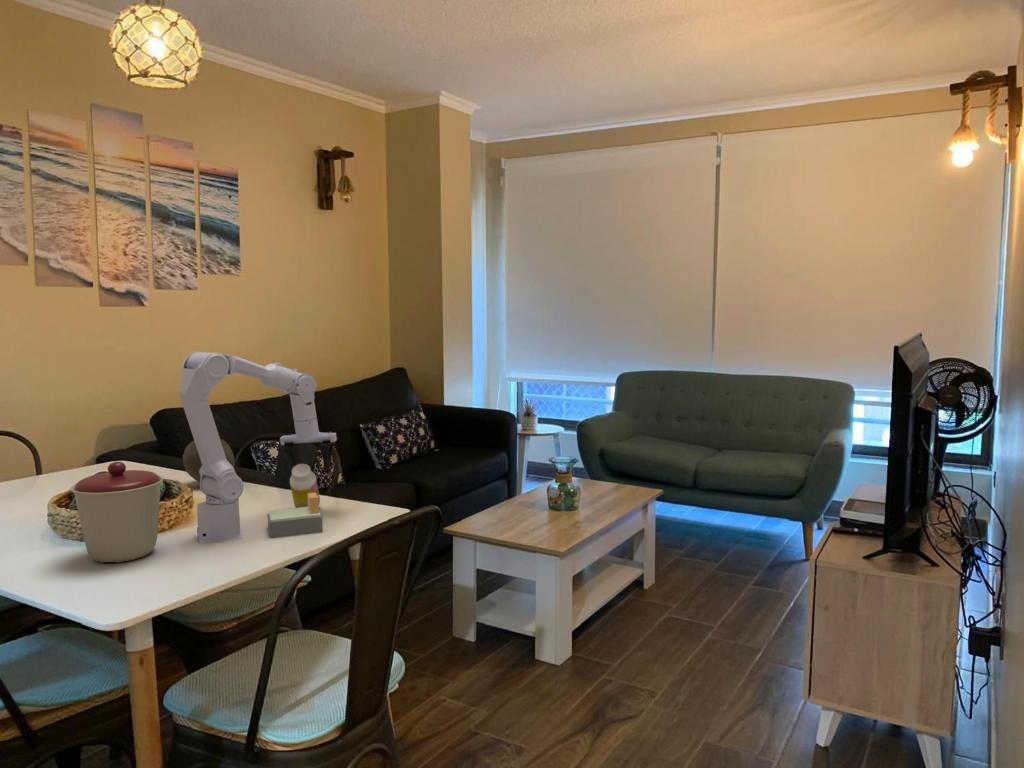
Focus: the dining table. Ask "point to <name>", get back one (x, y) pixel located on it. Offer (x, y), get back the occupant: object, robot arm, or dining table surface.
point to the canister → (119, 513)
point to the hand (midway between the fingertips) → (313, 469)
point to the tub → (294, 527)
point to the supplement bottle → (303, 485)
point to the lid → (297, 511)
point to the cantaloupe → (194, 461)
